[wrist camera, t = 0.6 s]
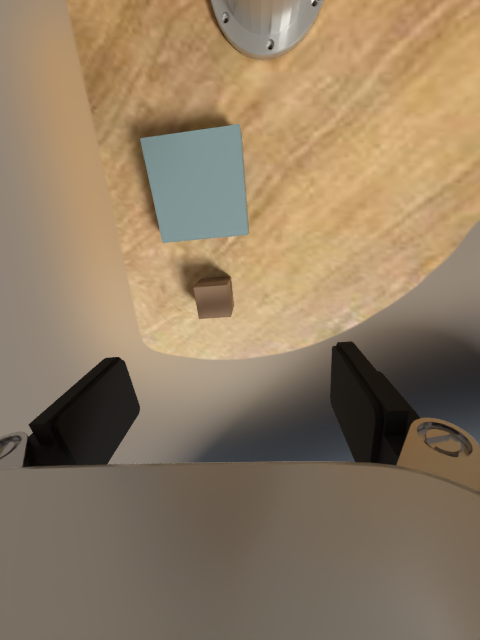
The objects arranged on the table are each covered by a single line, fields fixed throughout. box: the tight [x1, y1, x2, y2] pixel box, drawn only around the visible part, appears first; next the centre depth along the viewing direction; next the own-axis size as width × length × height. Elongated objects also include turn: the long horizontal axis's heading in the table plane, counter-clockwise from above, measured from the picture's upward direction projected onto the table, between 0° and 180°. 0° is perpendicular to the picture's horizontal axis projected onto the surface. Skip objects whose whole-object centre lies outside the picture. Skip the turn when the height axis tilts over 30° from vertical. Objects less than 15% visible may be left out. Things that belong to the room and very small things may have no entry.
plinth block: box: [140, 124, 249, 243], centre depth 32 cm, size 12×12×4 cm
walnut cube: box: [194, 277, 234, 319], centre depth 37 cm, size 5×5×5 cm
